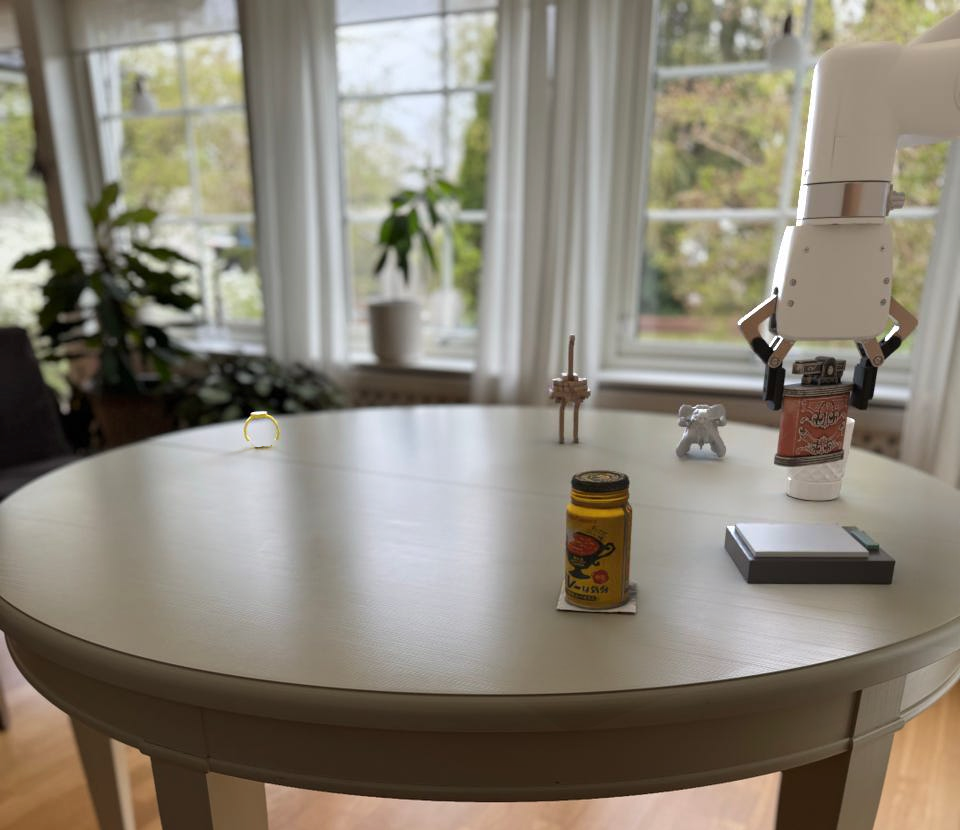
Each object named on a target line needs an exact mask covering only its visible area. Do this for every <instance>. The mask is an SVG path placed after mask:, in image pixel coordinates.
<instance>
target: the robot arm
mask: <svg viewBox="0 0 960 830" xmlns="http://www.w3.org/2000/svg"><path fill="white" fill-rule="evenodd" d="M808 112H809V113H808V121H807V128H806V129H807V130H806V137H805V148H804V153H803V154H804V155H803V164H802V173H801V182H800V190H799V198H798V207H797V215H796V225H787V226H786V227H785V231H784V235H783V236H782V240H781V245H780V249H779V253H778V258H777V262H776V266H775V271H774V277H773V282H772V288H771V293H770V297H769V298H767V299H766V300H765V301H764V302H762V303H761V304H759V305H758V306H757V307H755V308H754V309H753V310H752V311H750V312H749V313H748V314H746V315H745V316H744V317H742V318H741V319H740V320H739V321H738V322H737V325H736V326H737V329H738V330H739V332H740V333H741V335H742V337H743V338H744V340H745V341H746V342H747V344H748V346H749V348H750V349H751V350H752V351H753V352H754V354H755V355H756V356H757V357H758V358H759V359H760V360H761V361H762V364H764V365H765V366H764V367H765V369H764V375H763V376H764V377H763V385H762V394H761V395H762V396H761V398H762V401H763V402H764V401H765V402H766V407H767V408H769V410H771V411H773V412H775V411H777V412H778V411H780V410H782V405H783V396H784V395H783V390H784V385H785V381H786V372H787V369H786V368H785V367H783V366H784V365H783V364H784V360H785V358H786V357H787V355H788V354H789V352H790V351H791V349H792V348H793V346H794V345H795V343H796V342H797V341H799V342H801V341H802V342H809V341H810V342H815V341H817V342H819V341H820V342H821V341H823V342H824V341H829V342H830V341H853V342H854V344H855V347H856V349H857V352H858V354H859V356H860V359H859V363H856V365H855V366H854V369H853V375H852V376H853V377H852V382H854V388H853V391H851V394H850V401H849V406H851V407H852V408H854V409H857V410H859V411H867V409H868V406H869V401H872V400H873V398H874V395H875V389H876V383H877V382H876V381H877V376H878V370H879V367H881V366H883V365H884V363H885V360H886V359H888V358H889V357H890V356H892V354H893V353H895V352H896V351H897V350H898V349H899V348H900V347H901V345H902V343H903V342H904V341H905V340H906V339H907V338H908V337H909V336H910V335H912V333H913V331H914V330H915V329H916V328H917V327H918V326H919V320H918V318H917V317H916V316H914V315H913V314H912V313H911V312H910V311H909V310H907V308H905V306H903V305H902V304H901V303H900V302H899V301H898V300H896V299H895V297H893V296H892V287H893V271H894V239H893V238H894V237H893V236H894V235H893V224H892V223H886V217H889V215H890V212H891V211H894V210H900V209H902V208H903V207H904V205H905V201H906V194H905V192H904V191H901V192H898V191H896V190H894V183H891V182H892V179H893V174H894V173H893V172H894V166H895V159H896V154H897V153H896V152H897V150H902V149H907V148H912V147H918V146H928V145H934V144H941V143H947V142H951V141H956V140H959V139H960V9H958V10H956V11H955V12H953V13H951V14H949V15H948V16H946V17H945V18H943V19H942V20H939V21H938V22H936V23H935V24H933V25H932V26H930V27H929V28H927V29H926V30H924V31H923V32H921V33H920V34H919V35H917V36H915V37H914V38H912V39H911V40H909V41H908V42H906V43H904V44H901V43H899V42H895V41H891V40H863V41H854V42H848V43H843V44H839V45H837V46H833V47H831V48H830V49H827V50H826V51H825V52H824V53H822V55H821V56H820V57H819V58H818V59H817V62H816V65H815V68H814V72H813V78H812V87H811V93H810V103H809V111H808ZM888 319H890V320H892V321H893V323H894V327H892V329H891V330H890V332H889V333H888V334H887V335H885V336H884V337H882V338H881V340H880V341H878V339H877V338H878V337H879V336H881V335H883V333H884V332H885V330H886V327H887V325H888ZM766 320H767V330H768V332H769V333H770V334H771V335H773V336H774V338H773V339H772V341H771V342H770V344H769V343H768V342H767V341H766V340H765V339H764V338H763V336H762V335H761V333H760V331H759V326H760V325H761V324H762V323H763V322H764V321H766Z"/></svg>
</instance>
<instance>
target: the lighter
mask: <svg viewBox="0 0 960 830" xmlns="http://www.w3.org/2000/svg"><path fill="white" fill-rule="evenodd" d="M846 367H847V359H841V358H840V359H839V358H835V357H833V356H826V355H825V356H824V355H818V356H816V357H815V358H814V359H813V358H810V359H809V358H808V359H797V360H795V361H794V362H793V363H792V368H791V375H796V376H797V375H798V376H800V375H801V382H798V383H790V384H784V390H783V399H782V407H781V414H780V423H779V431H778V440H777V447H776V448H777V449H776V453H775V454H774V458H773V465H775V466H778V467H785V468H787V467H800V466H811V465H819V464H826V463H831V462H836V461H840V460H843V457H844V450H843V443H844V436H845V429H846V422H847V417H848V416H849V408H850V396H851V391H853V388H854V382H853V381H850V380H842V377H843V375H844V371H846Z"/></svg>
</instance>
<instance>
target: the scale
mask: <svg viewBox="0 0 960 830" xmlns="http://www.w3.org/2000/svg"><path fill="white" fill-rule="evenodd" d="M724 538H725V539H724V548H725V550H726V551H727V553H728V555H729V556H730V558H731V559H732V561H733V563H734V564H735V566H736V568H737V569H738V571H739V572H740V573H741V575H742V577H743V579H744V580H745V582H746V583H747V584H843V585H846V584H850V585H851V584H854V585H855V584H857V585H858V584H859V585H860V584H861V585H863V584H864V585H865V584H866V585H870V584H873V585H887V584H888V585H891V584H892V583H893V578H894V573H895V567H896V560H895V559H894V558H893V557H892V556H891V555H890V554H888V553H887V552H886V551H885V550H883V549H882V548H881V547H880V544H879V543H877V541H876V540H874V539H873V538H872V537H871V536H870V535H869V534H868V533H866V532H865V531H864V530H861V529H859V528H858V527H857V525H856V526H855V525H840V524H839V523H831V522H830V523H828V522H827V523H826V522H825V523H819V522H818V523H817V522H815V523H814V522H813V523H812V522H811V523H808V522H807V523H806V522H805V523H803V522H802V523H801V522H799V523H798V522H797V523H794V522H792V523H788V522H787V523H779V522H778V523H769V522H768V523H767V522H765V523H764V522H763V523H759V522H757V523H755V522H754V523H752V522H751V523H748V522H745V523H743V522H741V523H740V522H738V523H734V525H727V526H726V527H725V537H724Z"/></svg>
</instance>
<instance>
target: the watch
mask: <svg viewBox="0 0 960 830" xmlns="http://www.w3.org/2000/svg"><path fill="white" fill-rule="evenodd" d="M262 418H266V419H269V420H270V421H272V423H273V424H274V425H275V429H276V436H275V438H274V440H278V441H279V438H280V432H281V431H280V428H279V423H278V421H277V420H276V419H275V418H274V417H273V416H272V415H270V414H268V412H267V411H254V412H251V413H250V416H249V417H248V418H247V419H246V421H245V423H244V426H243V433H244V434H243V435H244V438H245V440H246V441H247V442H248V441H250V440H251V439H250V437H249V436H248V432H247V428H248V425H249V423H250V422H251V421H252V420H253V419H262Z"/></svg>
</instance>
